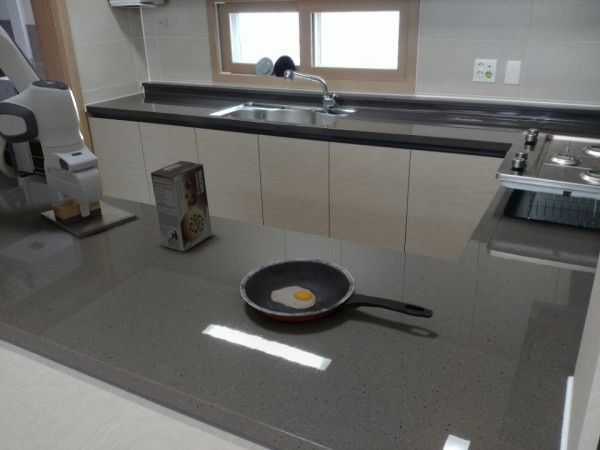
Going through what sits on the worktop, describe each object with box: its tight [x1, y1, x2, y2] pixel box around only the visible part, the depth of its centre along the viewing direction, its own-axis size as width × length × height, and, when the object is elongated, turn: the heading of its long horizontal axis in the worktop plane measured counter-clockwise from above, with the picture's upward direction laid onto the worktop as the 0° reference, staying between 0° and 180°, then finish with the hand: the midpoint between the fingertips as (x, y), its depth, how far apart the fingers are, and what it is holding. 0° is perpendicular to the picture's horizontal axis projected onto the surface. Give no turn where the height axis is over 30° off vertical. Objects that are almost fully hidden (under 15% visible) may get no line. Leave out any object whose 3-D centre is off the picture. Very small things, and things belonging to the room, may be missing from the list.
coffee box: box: [150, 160, 213, 252], centre depth 110 cm, size 9×6×16 cm
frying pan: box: [239, 257, 434, 323], centre depth 86 cm, size 19×32×4 cm, turn 61°
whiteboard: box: [40, 199, 137, 239], centre depth 128 cm, size 20×14×1 cm
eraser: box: [51, 198, 102, 225], centre depth 125 cm, size 5×9×4 cm, turn 136°
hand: (78, 212), depth 125 cm, fingers closed on eraser, 5 cm apart
